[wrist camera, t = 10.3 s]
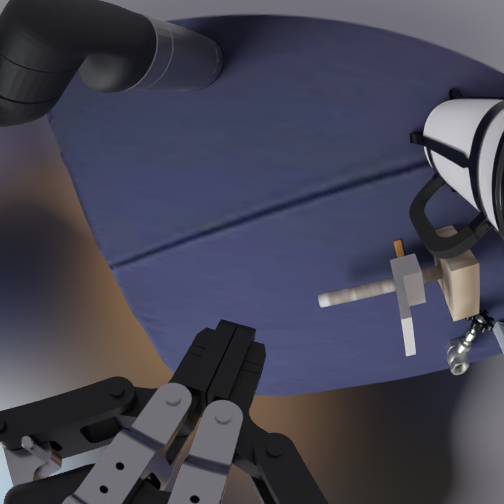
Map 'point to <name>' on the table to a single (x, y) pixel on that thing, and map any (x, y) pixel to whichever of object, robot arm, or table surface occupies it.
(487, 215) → the coffee press
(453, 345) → the valve
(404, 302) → the white upright panel
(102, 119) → the table surface
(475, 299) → the rod stand
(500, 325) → the ink box
